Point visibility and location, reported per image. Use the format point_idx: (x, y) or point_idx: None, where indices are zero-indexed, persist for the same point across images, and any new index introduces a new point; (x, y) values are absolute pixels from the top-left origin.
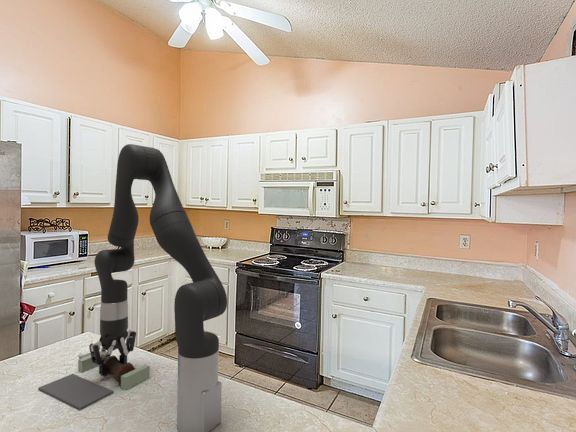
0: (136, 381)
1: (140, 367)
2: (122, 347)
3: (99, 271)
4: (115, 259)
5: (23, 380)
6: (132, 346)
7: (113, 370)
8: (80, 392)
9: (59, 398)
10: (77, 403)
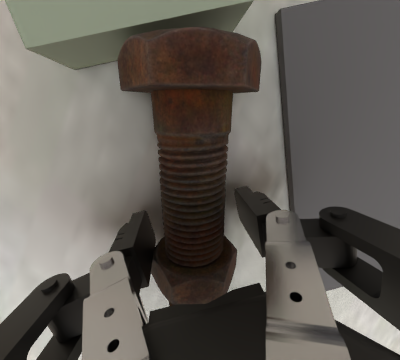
0: None
1: (80, 19)
2: (135, 303)
3: None
4: None
5: (383, 339)
6: (26, 312)
7: (225, 167)
8: (366, 129)
9: None
10: None
